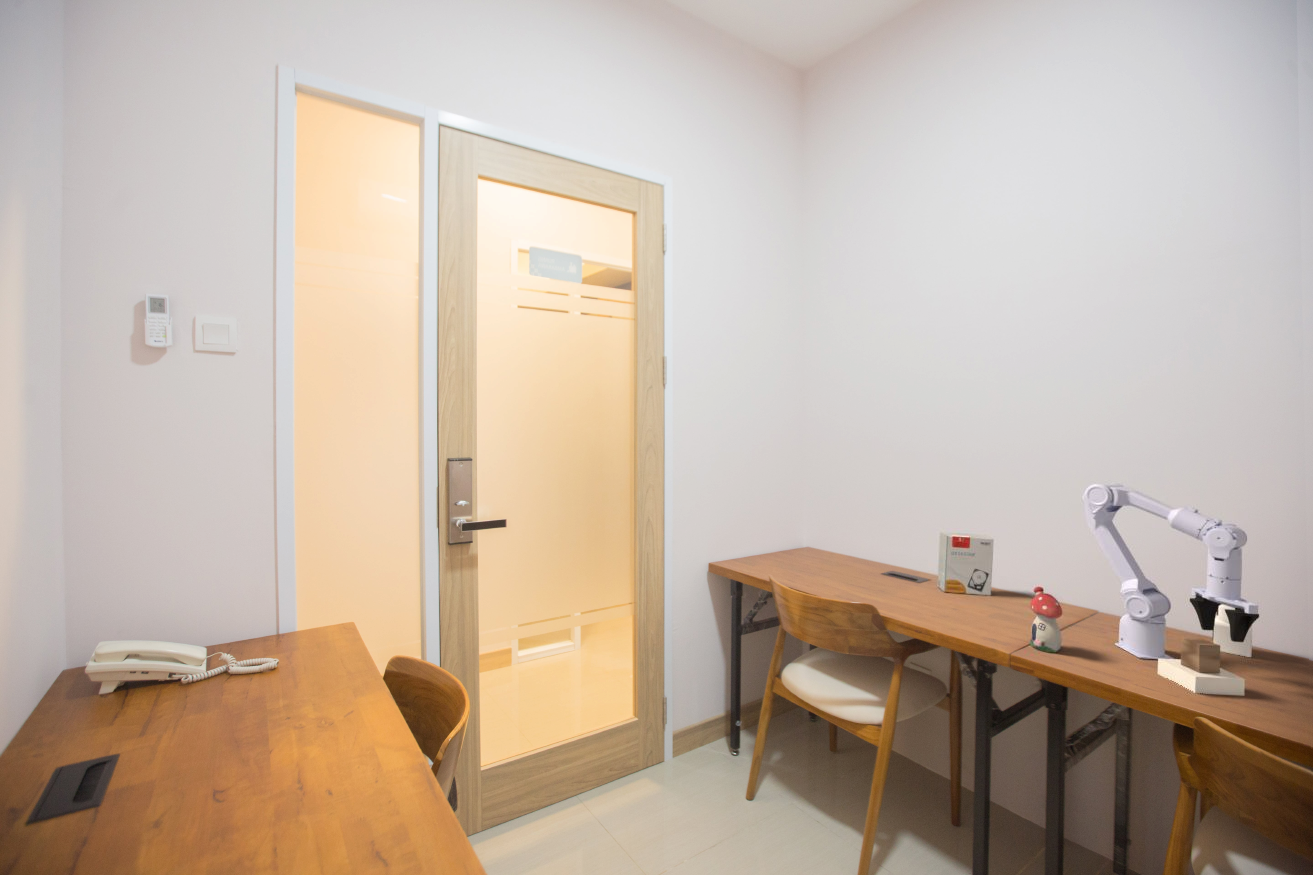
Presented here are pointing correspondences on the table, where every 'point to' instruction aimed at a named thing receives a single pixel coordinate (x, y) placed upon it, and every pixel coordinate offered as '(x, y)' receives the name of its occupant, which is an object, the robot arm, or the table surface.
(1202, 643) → the walnut block
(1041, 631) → the decorative ornament
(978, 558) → the hard drive box
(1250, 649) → the medicine bottle
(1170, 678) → the ceramic base
